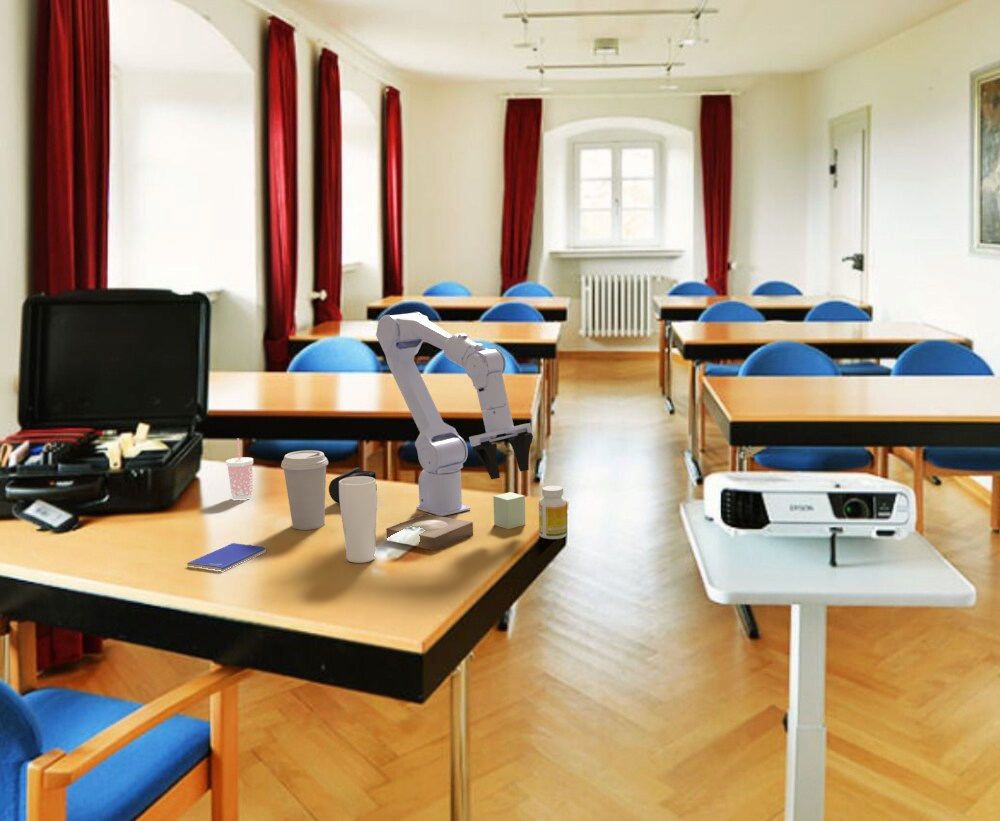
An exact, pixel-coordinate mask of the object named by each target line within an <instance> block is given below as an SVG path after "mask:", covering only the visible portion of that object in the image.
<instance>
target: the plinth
mask: <svg viewBox="0 0 1000 821" xmlns="http://www.w3.org/2000/svg"><path fill="white" fill-rule="evenodd" d="M410 526H412V527H420V528H423V529H424V530H425V531H424V532H423V533H421V534H419V536H420V542H419V545H418V546H419V547H420V548H419V547H418V548H419V549H424V550H429V549H430V551H437V550H440V549H442V548H445V547H447V546H448V545H449V546H450V545H451V544H454V543H456V542H458V541H460V540H464V539H465V538H468V537H470V536H473V535H474V522H473V521H468V520H463V519H459V518H458V519H456V518H451V517H446V516H438V515H435V514H430V513H429V514H427V513H424V514H422V515H419V516H416V517H414V518H411V519H409V520H406V521H403V522H400V523H397V524H396V525H395V524H394V525H393V526H389V527H387V528H386V529H385V531H386V539H387V538H388V537H390V536H391V535H393V534H395V533H397V532H399V531H401V530H403V529H404V528H406V527H410Z"/></svg>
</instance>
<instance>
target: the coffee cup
mask: <svg viewBox="0 0 1000 821" xmlns="http://www.w3.org/2000/svg"><path fill="white" fill-rule="evenodd" d="M328 465H329V460H328V458H327V457H326V456H325V453H324V452H323V451H320V450H298V451H292V452H289V453H287V454H285V455H284V457H283V460H281V465H280V467H281V468H282V469H283V473H284V480H285V484H286V485H285V486H286V491H287V492H286V493H287V499H288V506H289V510H290V511H289V512H290V517H291V518H290V519H291V524H292V528H293V529H295V530H301V531H307V530H315V529H316V528H317V529H320V528H322V527H324V526H325V523H326V522H325V520H326V518H325V517H326V516H325V515H326V510H325V509H326V486H327V485H326V484H327V481H326V480H327V466H328Z"/></svg>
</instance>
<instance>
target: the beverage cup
mask: <svg viewBox="0 0 1000 821" xmlns="http://www.w3.org/2000/svg"><path fill="white" fill-rule="evenodd" d="M236 443H237V445H236V446H237V457H233V458H229V459H226V460H225V463H226V465H225V466H227V471H228V472H227V473H228V479H229V486H230V494H231V499H232V498H233V499H247V498H251V497H252V496H253V494H254V493H253V492H254V491H253V490H254V489H253V486H254V485H253V464H254V458H253V457H247V456H246V457H245V456H244V457H241V446H240V445H241V444H240V438H239V437H238V438H236ZM253 497H254V496H253Z"/></svg>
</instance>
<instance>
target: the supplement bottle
mask: <svg viewBox="0 0 1000 821" xmlns="http://www.w3.org/2000/svg"><path fill="white" fill-rule="evenodd" d="M541 489H542V492H541V494H542V496H543V497H540V499H539V501H538V529H539V531H538V533H539V536H540V537H541V538H543V539H547V540H561V539H563V538H565V537H566V536H567V534H568V531H567V530H568V526H567V524H568V523H567V522H568V520H567V516H568V515H567V512H568V511H567V505H568V504H567V500H566V498H565V497H563V495H564V488H563V486H560V485H547V486H543V487H542V488H541Z"/></svg>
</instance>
